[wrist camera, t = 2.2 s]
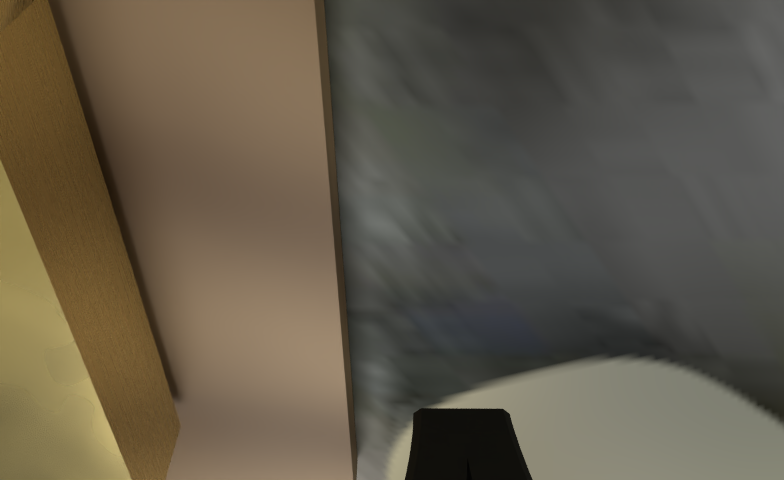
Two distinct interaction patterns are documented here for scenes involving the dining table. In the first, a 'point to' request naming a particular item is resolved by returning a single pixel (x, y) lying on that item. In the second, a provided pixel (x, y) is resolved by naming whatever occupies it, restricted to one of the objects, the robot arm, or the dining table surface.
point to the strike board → (227, 220)
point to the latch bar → (67, 286)
